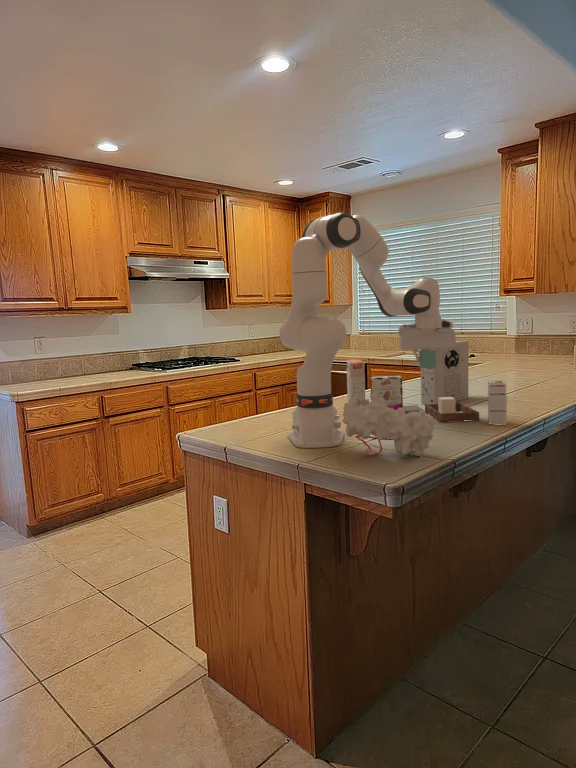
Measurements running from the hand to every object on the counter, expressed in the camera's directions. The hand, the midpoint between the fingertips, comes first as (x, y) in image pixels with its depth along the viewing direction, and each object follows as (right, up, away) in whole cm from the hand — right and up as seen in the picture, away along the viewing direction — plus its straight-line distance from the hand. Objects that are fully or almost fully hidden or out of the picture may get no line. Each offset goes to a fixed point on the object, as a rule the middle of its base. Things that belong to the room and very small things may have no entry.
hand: (427, 361), depth 192 cm
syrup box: (+20, -22, -14) cm, 33 cm away
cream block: (+9, -20, +6) cm, 22 cm away
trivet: (-5, -20, +9) cm, 22 cm away
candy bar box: (-15, -22, -2) cm, 27 cm away
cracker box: (-24, -20, +13) cm, 34 cm away
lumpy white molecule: (-24, -29, -45) cm, 58 cm away
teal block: (0, -2, 0) cm, 2 cm away
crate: (+9, -20, +1) cm, 22 cm away
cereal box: (+16, -16, +30) cm, 38 cm away
